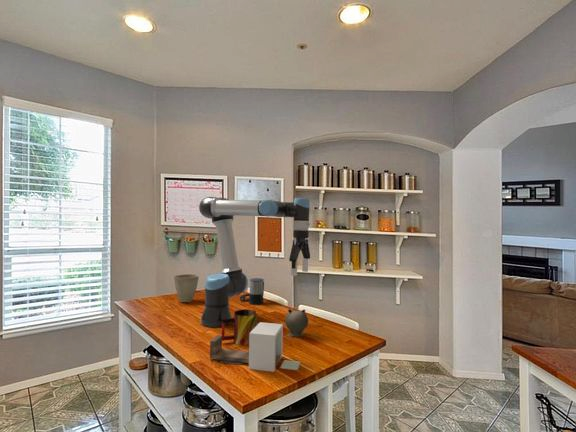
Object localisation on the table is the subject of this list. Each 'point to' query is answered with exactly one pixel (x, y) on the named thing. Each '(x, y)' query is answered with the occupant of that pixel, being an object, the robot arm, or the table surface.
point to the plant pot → (186, 286)
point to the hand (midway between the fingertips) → (299, 273)
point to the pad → (290, 365)
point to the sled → (230, 352)
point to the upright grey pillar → (265, 346)
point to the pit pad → (231, 362)
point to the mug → (241, 326)
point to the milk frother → (255, 292)
